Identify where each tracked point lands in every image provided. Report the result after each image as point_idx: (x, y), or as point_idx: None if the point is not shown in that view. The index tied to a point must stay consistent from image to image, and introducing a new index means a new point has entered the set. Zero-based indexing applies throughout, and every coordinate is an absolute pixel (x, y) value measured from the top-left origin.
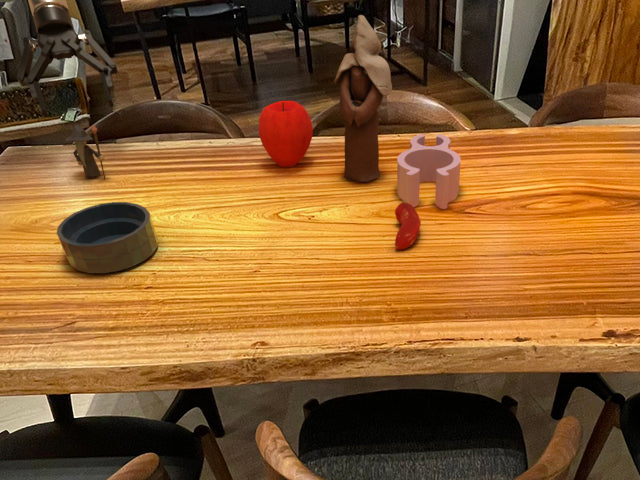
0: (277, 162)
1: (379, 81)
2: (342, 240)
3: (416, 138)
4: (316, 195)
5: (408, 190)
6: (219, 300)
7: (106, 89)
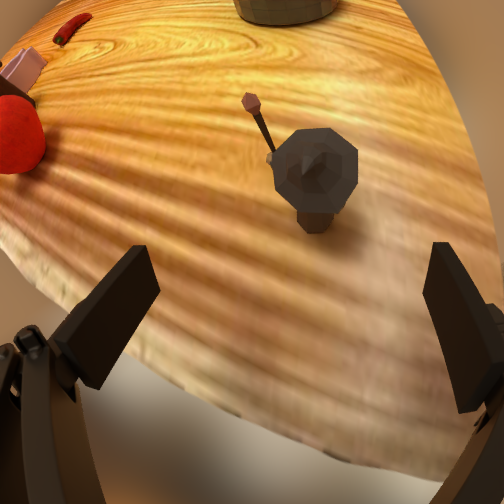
0: (44, 138)
1: None
2: (105, 22)
3: None
4: (67, 80)
5: (38, 54)
6: None
7: (113, 275)
